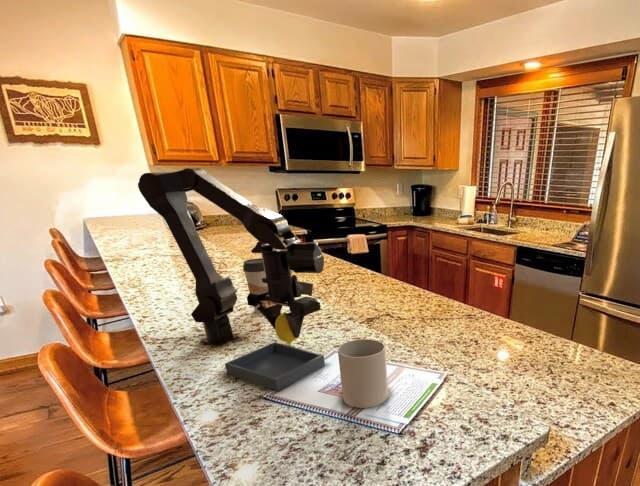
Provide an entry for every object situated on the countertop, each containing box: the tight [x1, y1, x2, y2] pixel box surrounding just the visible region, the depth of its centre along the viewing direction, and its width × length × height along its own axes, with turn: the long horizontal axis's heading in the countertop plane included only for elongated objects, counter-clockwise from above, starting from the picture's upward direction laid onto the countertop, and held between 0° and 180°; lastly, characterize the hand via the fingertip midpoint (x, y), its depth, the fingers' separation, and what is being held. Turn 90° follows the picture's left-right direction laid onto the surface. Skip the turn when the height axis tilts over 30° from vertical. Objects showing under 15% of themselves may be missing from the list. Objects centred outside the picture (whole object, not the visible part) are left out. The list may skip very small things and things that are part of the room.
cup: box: [337, 338, 389, 409], centre depth 78 cm, size 8×8×10 cm
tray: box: [224, 342, 326, 392], centre depth 91 cm, size 15×13×2 cm
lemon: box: [274, 311, 297, 344], centre depth 103 cm, size 6×6×8 cm
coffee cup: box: [242, 257, 268, 315], centre depth 125 cm, size 8×8×15 cm
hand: (288, 335), depth 104 cm, fingers closed on lemon, 5 cm apart
